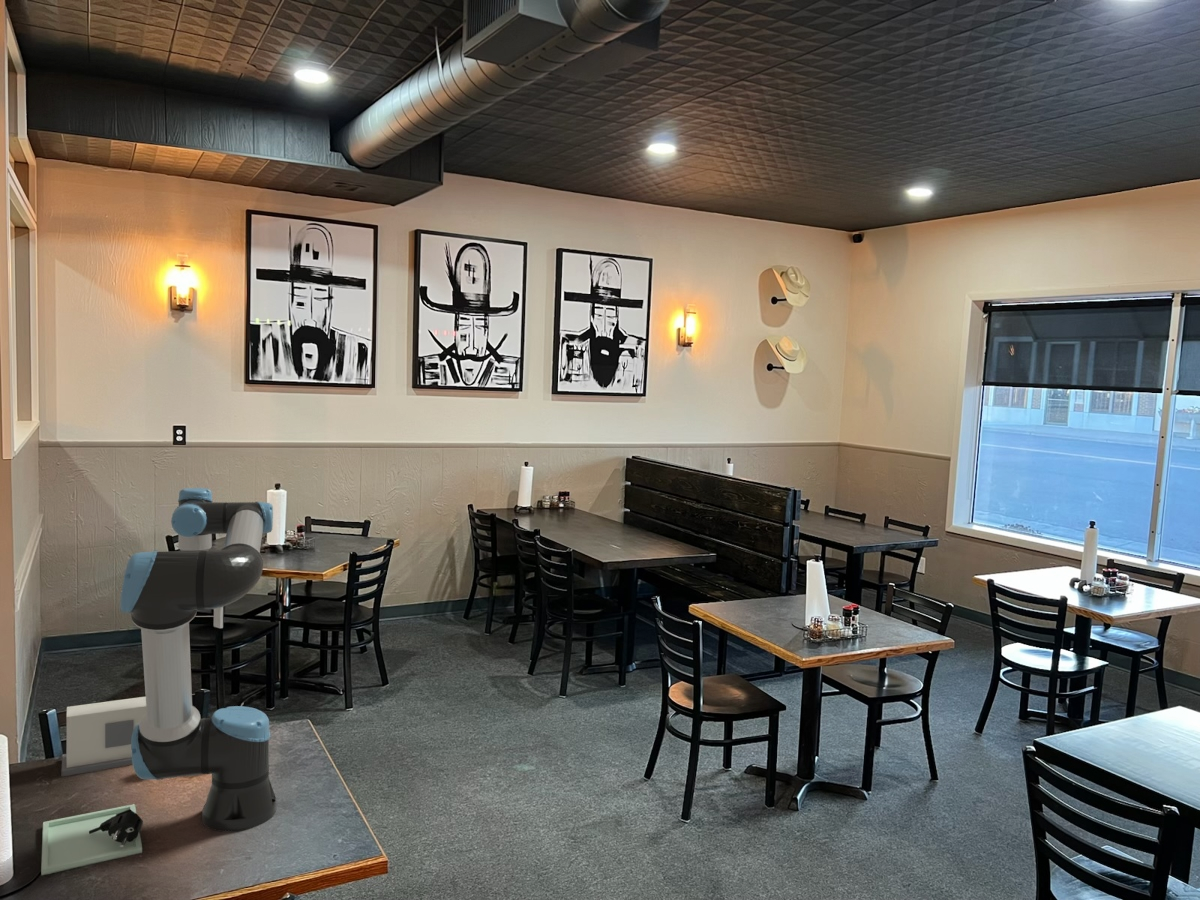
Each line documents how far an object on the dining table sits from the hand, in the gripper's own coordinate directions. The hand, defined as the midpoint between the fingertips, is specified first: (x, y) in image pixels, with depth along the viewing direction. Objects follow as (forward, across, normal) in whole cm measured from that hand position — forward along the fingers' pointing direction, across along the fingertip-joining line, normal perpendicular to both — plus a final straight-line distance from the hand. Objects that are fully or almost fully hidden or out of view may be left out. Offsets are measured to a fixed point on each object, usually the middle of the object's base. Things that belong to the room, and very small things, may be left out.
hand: (194, 633), depth 214 cm
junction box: (+32, +12, -12) cm, 36 cm away
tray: (+32, +36, +20) cm, 52 cm away
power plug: (+32, +38, +20) cm, 53 cm away
